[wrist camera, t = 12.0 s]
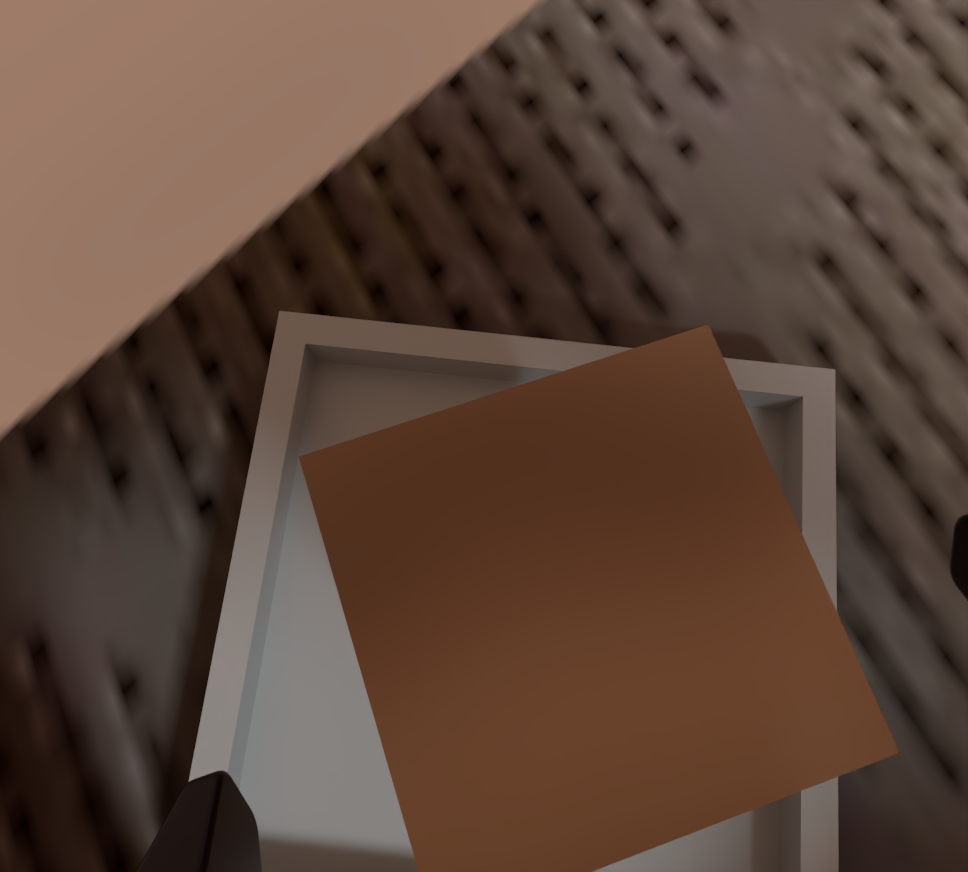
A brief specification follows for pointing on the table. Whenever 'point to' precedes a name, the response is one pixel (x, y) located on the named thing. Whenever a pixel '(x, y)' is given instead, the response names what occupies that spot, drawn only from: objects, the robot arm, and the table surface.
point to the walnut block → (588, 616)
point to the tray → (323, 628)
